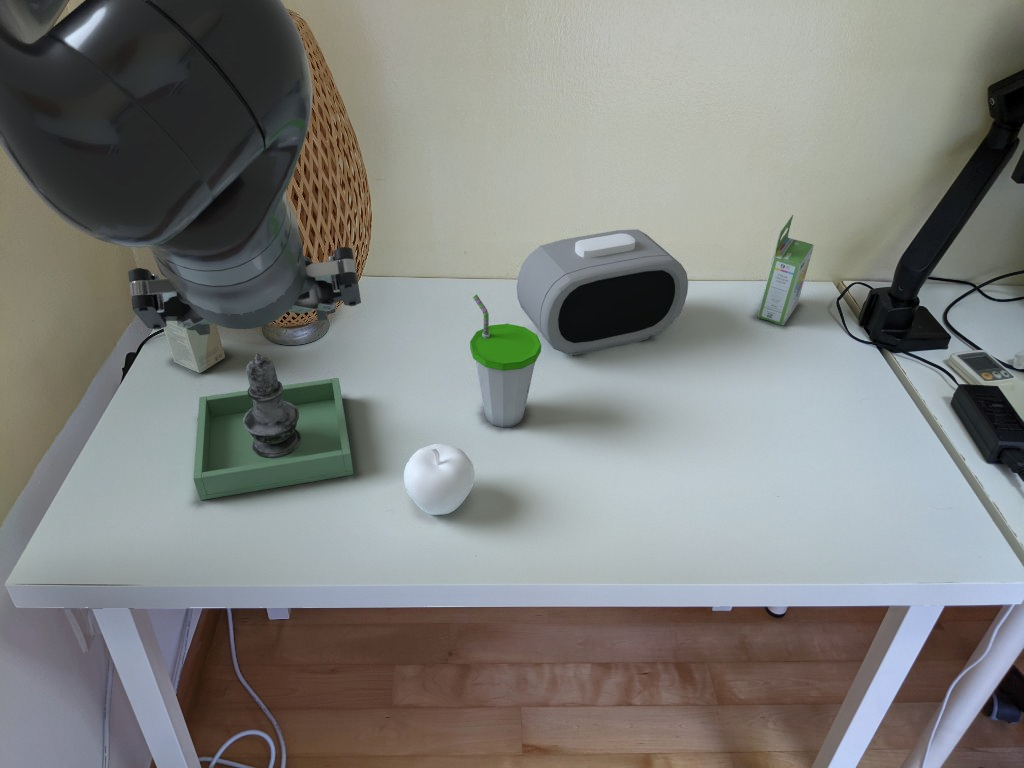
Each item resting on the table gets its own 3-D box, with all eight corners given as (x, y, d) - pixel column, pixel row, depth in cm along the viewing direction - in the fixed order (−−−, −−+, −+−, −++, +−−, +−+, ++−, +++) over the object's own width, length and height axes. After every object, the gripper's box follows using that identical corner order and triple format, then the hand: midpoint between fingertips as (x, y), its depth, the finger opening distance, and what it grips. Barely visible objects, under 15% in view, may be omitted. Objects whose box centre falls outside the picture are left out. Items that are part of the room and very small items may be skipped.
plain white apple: (391, 503, 80) (385, 445, 75) (441, 468, 84) (438, 411, 79) (439, 539, 76) (436, 480, 71) (488, 500, 80) (488, 442, 75)
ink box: (784, 327, 108) (808, 239, 100) (756, 318, 109) (777, 232, 101) (797, 305, 112) (822, 220, 104) (771, 297, 114) (792, 213, 106)
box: (226, 358, 99) (207, 282, 92) (199, 374, 96) (177, 298, 89) (198, 345, 101) (178, 270, 95) (171, 361, 98) (148, 285, 92)
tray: (200, 500, 79) (193, 478, 77) (205, 417, 90) (199, 396, 88) (353, 474, 83) (350, 453, 81) (341, 398, 93) (338, 377, 91)
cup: (548, 426, 90) (555, 317, 81) (486, 444, 87) (486, 333, 78) (520, 388, 95) (524, 282, 86) (461, 403, 93) (458, 295, 84)
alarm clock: (543, 367, 99) (548, 275, 91) (515, 328, 106) (518, 239, 98) (681, 336, 105) (698, 247, 97) (646, 301, 112) (659, 216, 104)
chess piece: (314, 435, 87) (299, 347, 80) (279, 466, 83) (259, 377, 75) (273, 418, 89) (255, 331, 82) (237, 449, 85) (214, 360, 77)
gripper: (351, 172, 45) (350, 257, 61) (84, 193, 42) (156, 277, 57) (370, 297, 44) (365, 350, 60) (99, 329, 41) (169, 376, 57)
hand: (263, 314), depth 59 cm, fingers open, 8 cm apart
